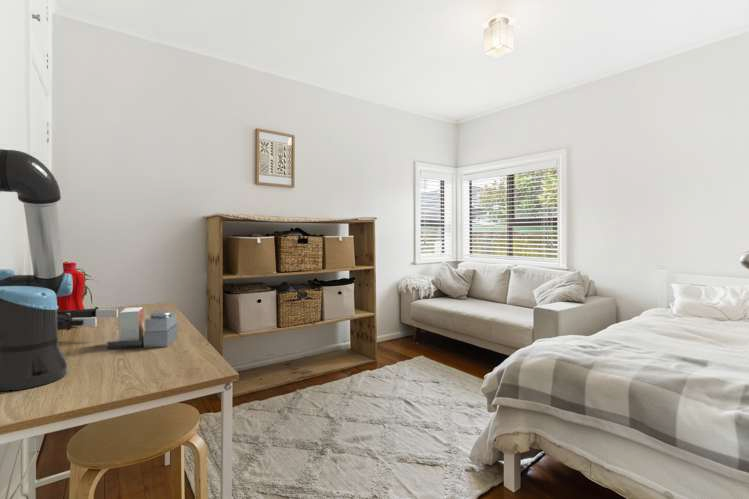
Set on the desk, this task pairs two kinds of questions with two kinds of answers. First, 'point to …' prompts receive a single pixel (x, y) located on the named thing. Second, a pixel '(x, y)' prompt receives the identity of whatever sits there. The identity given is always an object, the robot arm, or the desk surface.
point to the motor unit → (153, 332)
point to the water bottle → (75, 297)
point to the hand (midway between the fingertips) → (107, 317)
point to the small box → (131, 324)
